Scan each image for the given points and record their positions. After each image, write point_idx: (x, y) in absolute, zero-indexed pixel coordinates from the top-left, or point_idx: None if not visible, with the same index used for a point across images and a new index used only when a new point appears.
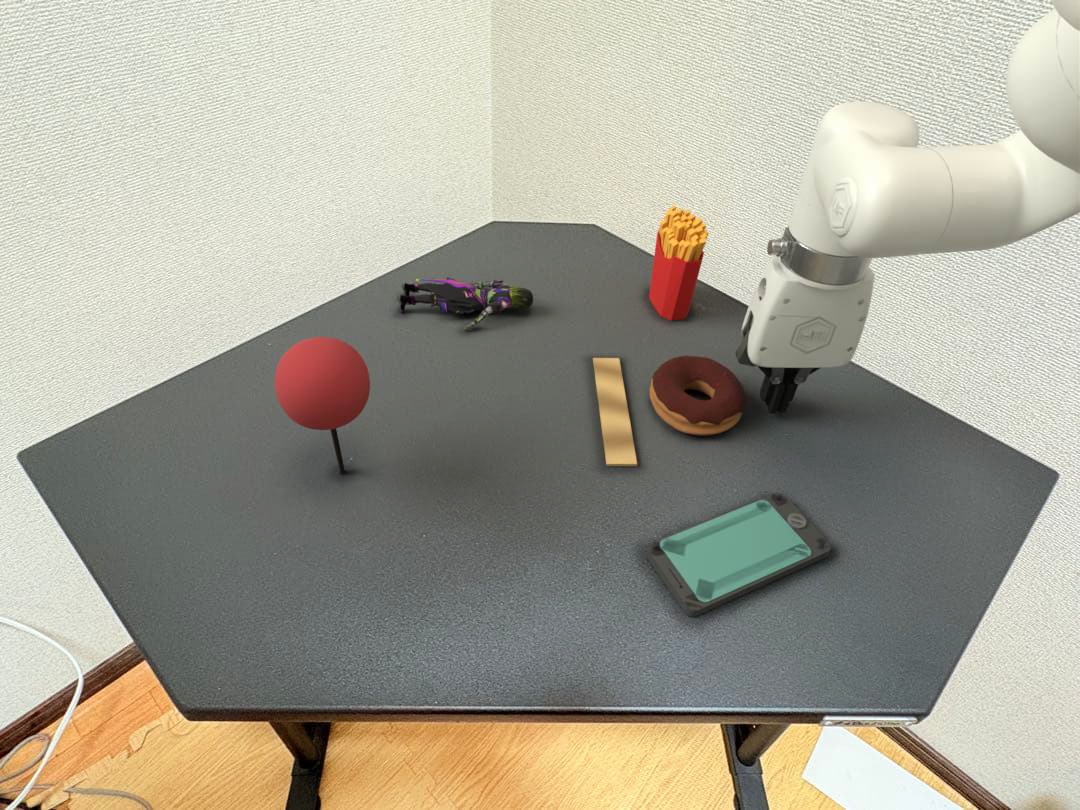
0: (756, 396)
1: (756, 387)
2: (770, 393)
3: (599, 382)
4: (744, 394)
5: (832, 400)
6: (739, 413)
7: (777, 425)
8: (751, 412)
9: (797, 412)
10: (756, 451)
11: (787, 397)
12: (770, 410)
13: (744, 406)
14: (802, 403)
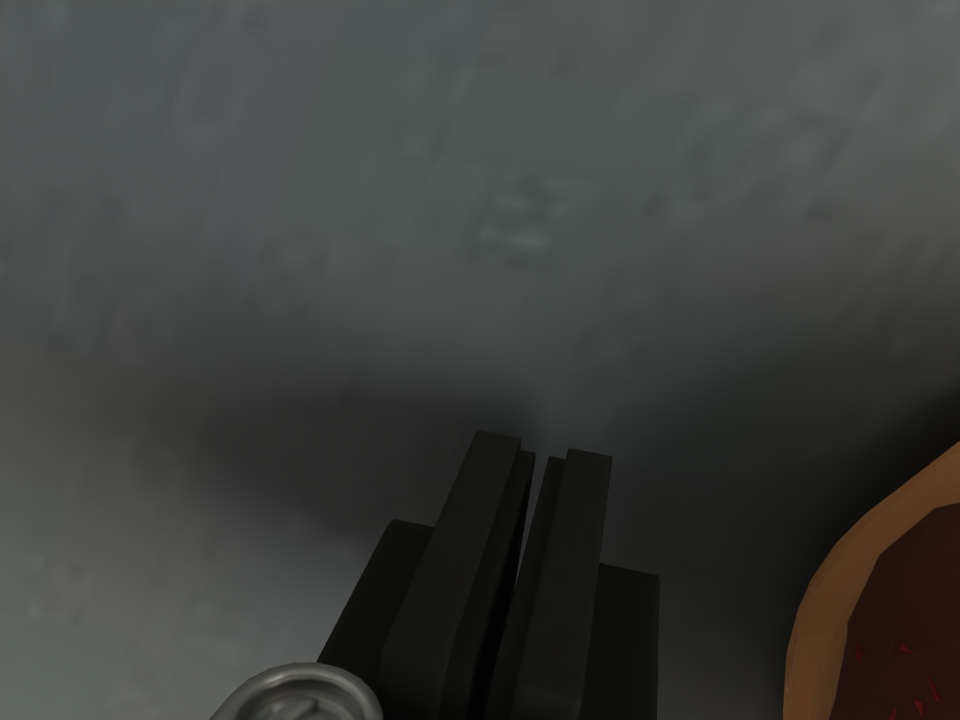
0: None
1: None
2: (615, 635)
3: None
4: (883, 689)
5: (58, 490)
6: (950, 503)
7: (557, 349)
8: (706, 518)
9: (341, 442)
10: (918, 78)
11: (467, 545)
12: (608, 476)
13: (926, 557)
14: (273, 511)
